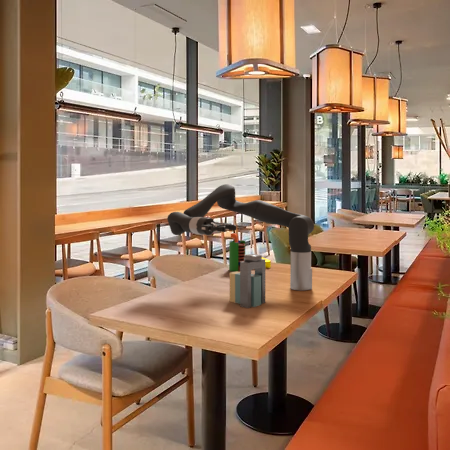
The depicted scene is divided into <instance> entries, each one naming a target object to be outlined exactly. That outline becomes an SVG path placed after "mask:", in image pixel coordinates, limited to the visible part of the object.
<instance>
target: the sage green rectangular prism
mask: <svg viewBox="0 0 450 450" xmlns="http://www.w3.org/2000/svg"><path fill="white" fill-rule="evenodd" d="M229 302H231V303H235V304H238V305H239V304H240V271H236V272H234V271H231V272H229ZM258 306H262V304H261V275H255V273H251V308H257V307H258Z"/></svg>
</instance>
